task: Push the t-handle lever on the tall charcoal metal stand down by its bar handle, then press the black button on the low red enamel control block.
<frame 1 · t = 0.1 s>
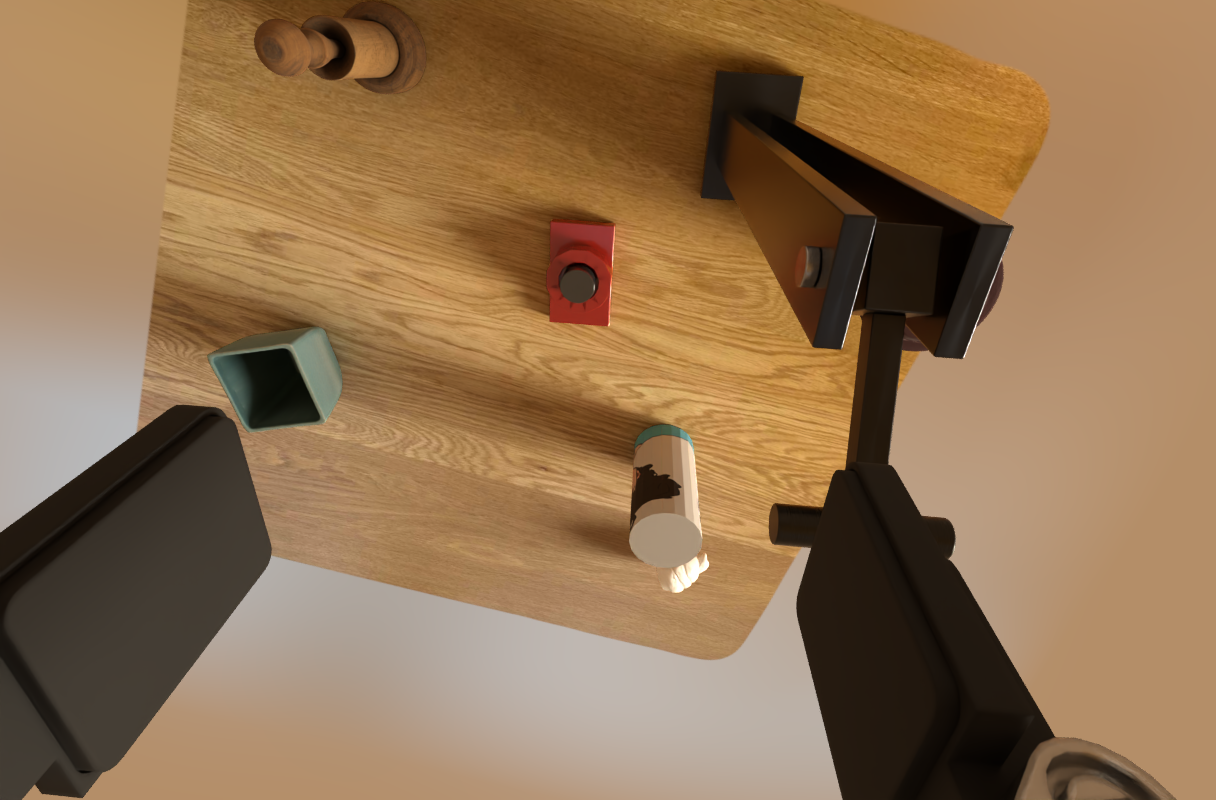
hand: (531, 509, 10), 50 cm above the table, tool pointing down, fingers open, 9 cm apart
cancel button: (578, 283, 57), point 3 cm above the table, slide at 0.1 cm
beige cylindrical canister: (663, 448, 70), on the table
flower pot: (313, 349, 66), on the table
mortar and pestle: (388, 49, 52), on the table
garlic bulb: (683, 549, 77), on the table
button block: (582, 272, 60), on the table
t-handle lever: (874, 394, 21), point 39 cm above the table, hinge at 25.0°
lever bracket: (747, 138, 53), on the table
coffee cup: (874, 241, 57), on the table
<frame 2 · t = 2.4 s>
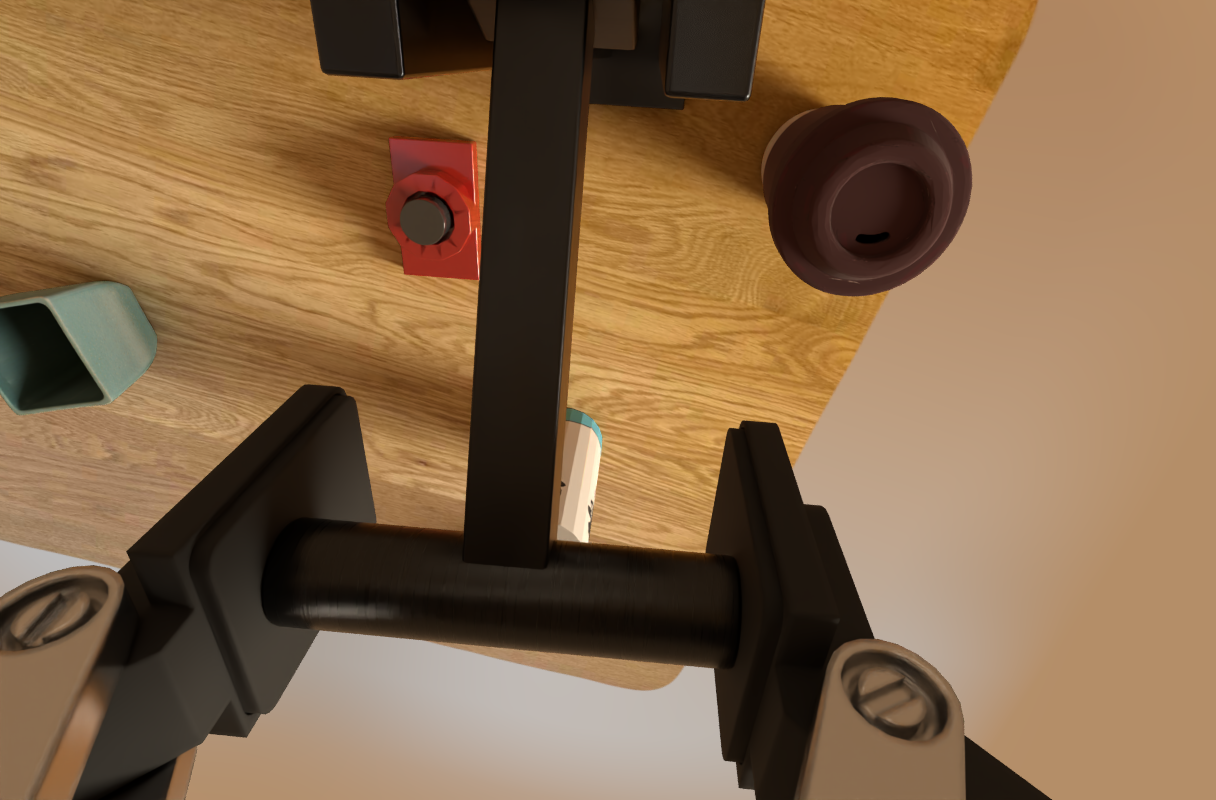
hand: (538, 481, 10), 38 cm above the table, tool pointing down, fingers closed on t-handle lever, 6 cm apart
cancel button: (425, 220, 43), point 3 cm above the table, slide at 0.1 cm
beige cylindrical canister: (566, 438, 56), on the table
flower pot: (122, 313, 53), on the table
button block: (440, 209, 46), on the table
t-handle lever: (533, 225, 8), point 39 cm above the table, hinge at 25.0°, touching gripper
lever bracket: (637, 19, 40), on the table
coffee cup: (811, 164, 43), on the table
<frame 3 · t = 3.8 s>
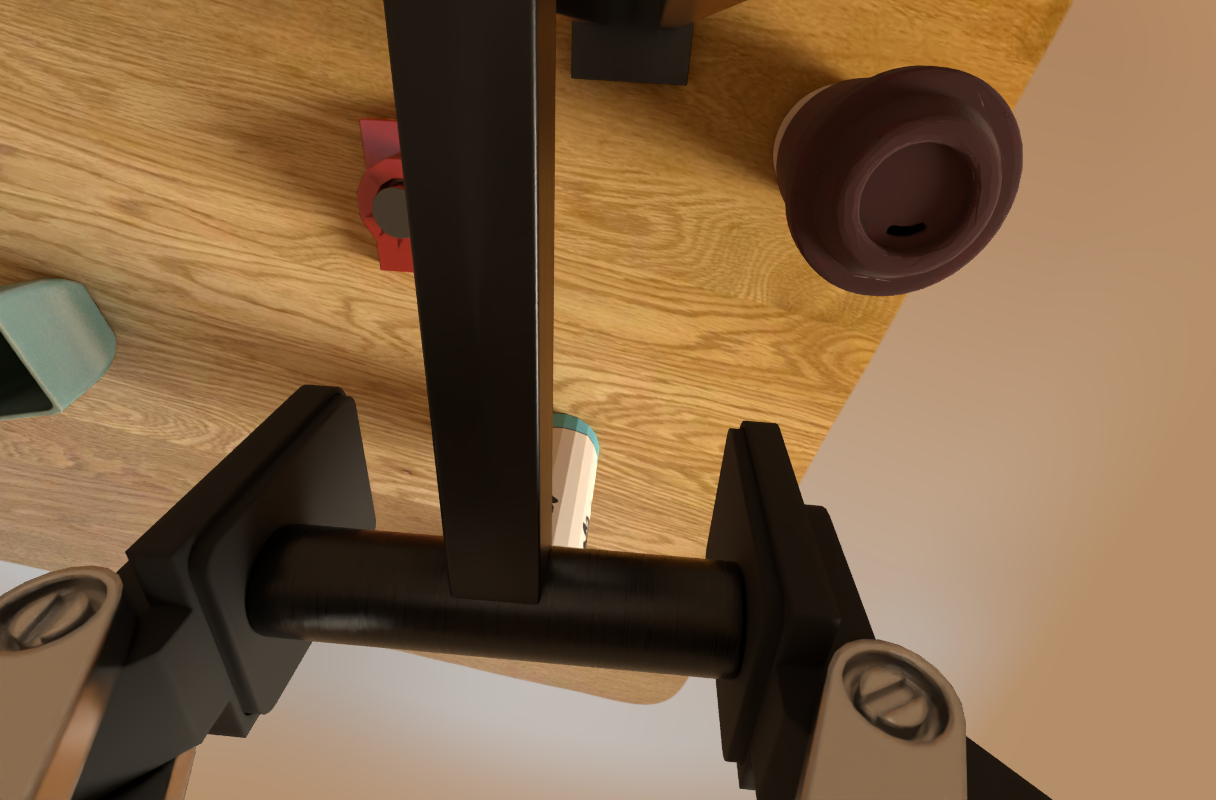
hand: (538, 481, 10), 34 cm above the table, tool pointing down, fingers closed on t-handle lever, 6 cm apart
cancel button: (401, 210, 39), point 3 cm above the table, slide at 0.1 cm
beige cylindrical canister: (560, 445, 52), on the table
flower pot: (77, 313, 49), on the table
button block: (419, 198, 42), on the table
t-handle lever: (486, 225, 6), point 37 cm above the table, hinge at 0.3°, touching gripper
coffee cup: (829, 146, 39), on the table
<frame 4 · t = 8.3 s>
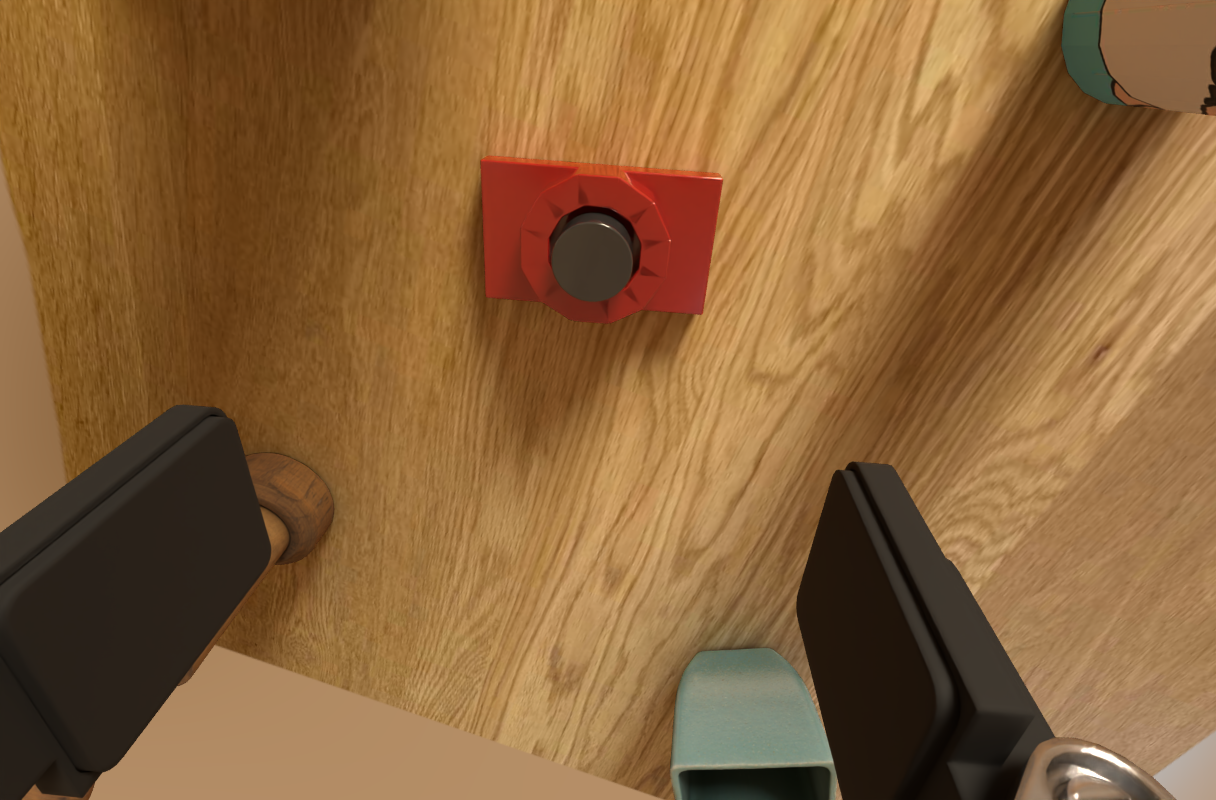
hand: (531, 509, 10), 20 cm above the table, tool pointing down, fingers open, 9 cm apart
cancel button: (593, 257, 24), point 3 cm above the table, slide at 0.1 cm
beige cylindrical canister: (1158, 3, 22), on the table
flower pot: (734, 667, 42), on the table
mortar and pestle: (282, 495, 36), on the table
button block: (599, 234, 27), on the table
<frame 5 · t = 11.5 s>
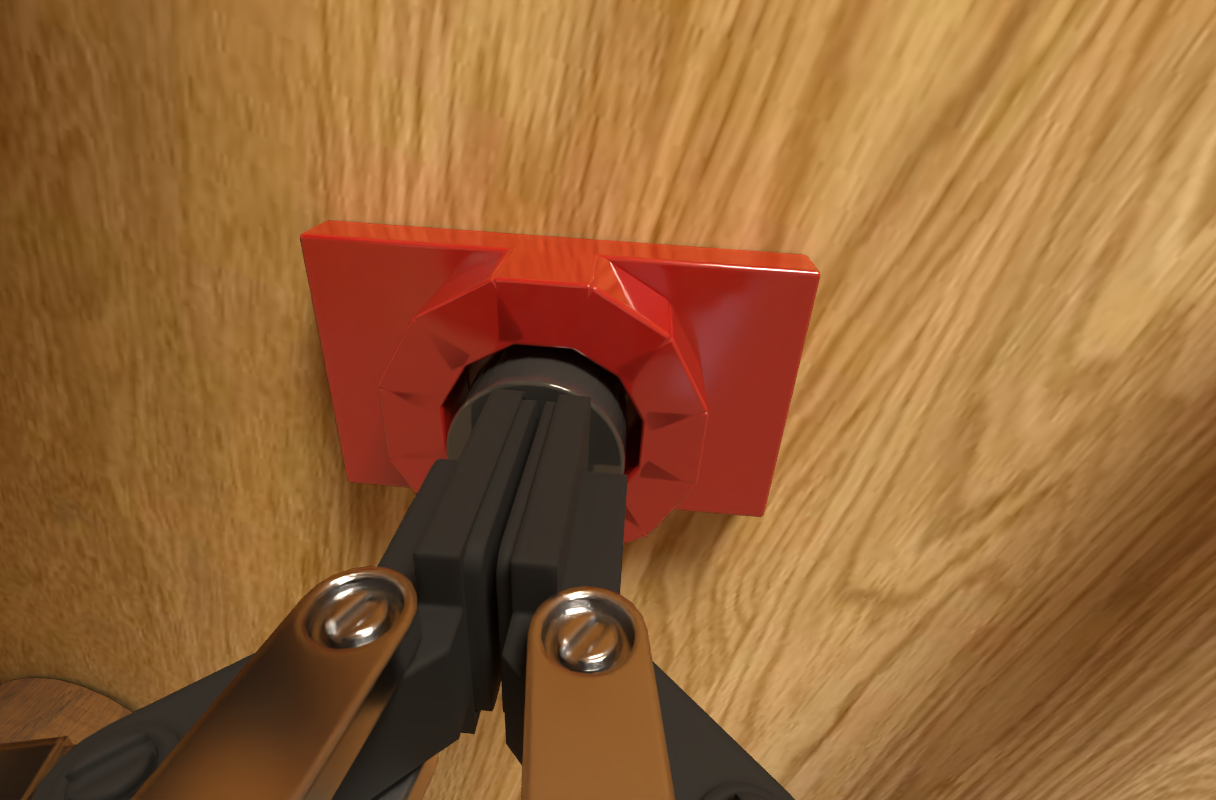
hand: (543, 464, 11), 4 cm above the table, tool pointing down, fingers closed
cancel button: (542, 434, 12), point 3 cm above the table, slide at -0.5 cm, touching gripper
mortar and pestle: (83, 726, 23), on the table
button block: (562, 366, 14), on the table
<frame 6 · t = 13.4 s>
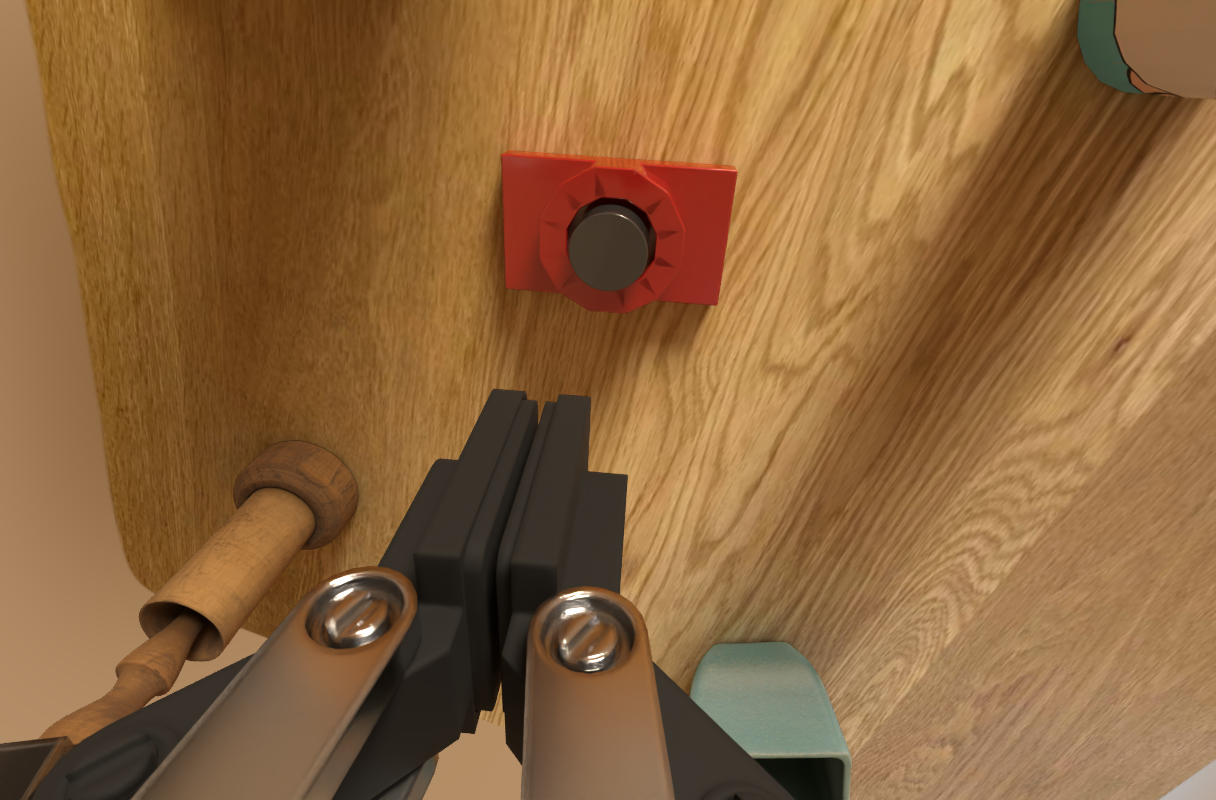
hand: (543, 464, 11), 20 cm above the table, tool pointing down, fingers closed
cancel button: (609, 247, 25), point 3 cm above the table, slide at 0.1 cm
flower pot: (750, 661, 42), on the table
mortar and pestle: (309, 482, 38), on the table
button block: (616, 227, 28), on the table
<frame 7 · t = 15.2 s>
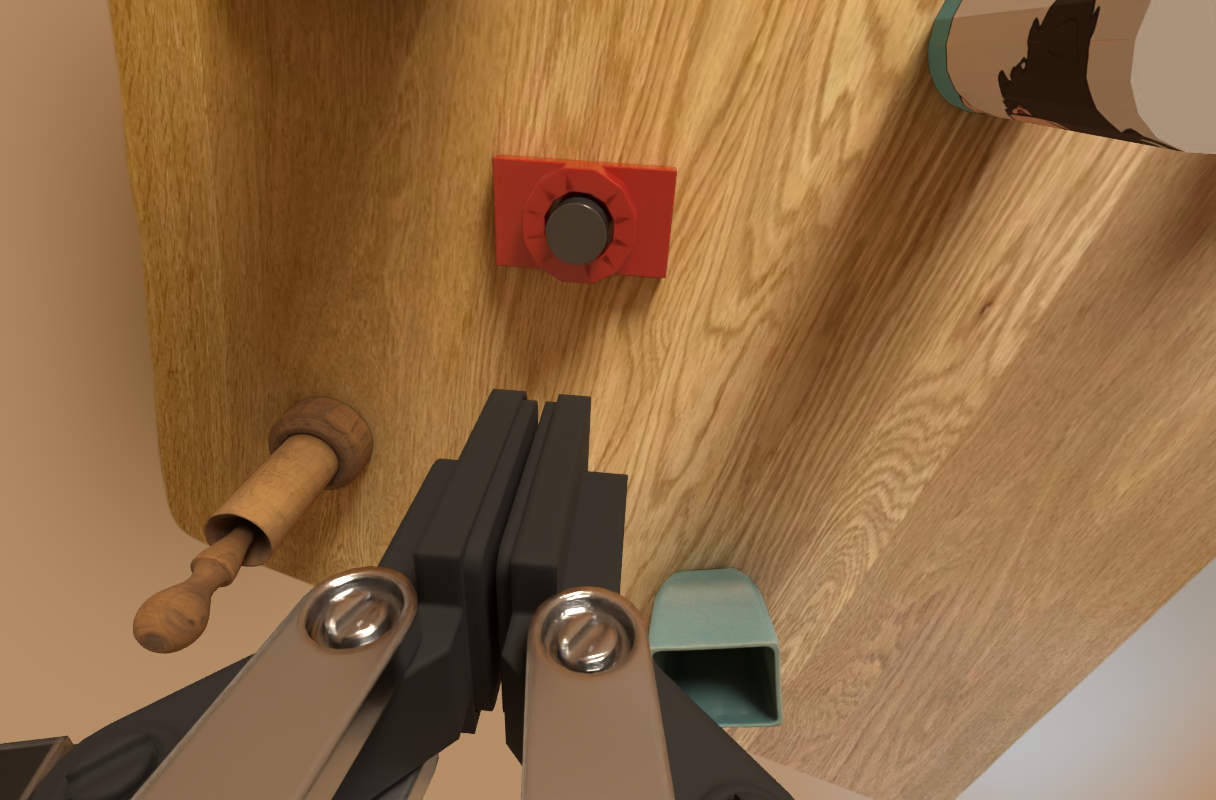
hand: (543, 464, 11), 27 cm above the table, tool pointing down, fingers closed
cancel button: (577, 230, 32), point 3 cm above the table, slide at 0.1 cm
beige cylindrical canister: (999, 36, 30), on the table
flower pot: (706, 587, 50), on the table
mortar and pestle: (330, 433, 45), on the table
button block: (584, 215, 35), on the table
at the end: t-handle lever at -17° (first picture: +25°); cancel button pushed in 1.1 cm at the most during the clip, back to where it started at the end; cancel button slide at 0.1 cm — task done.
